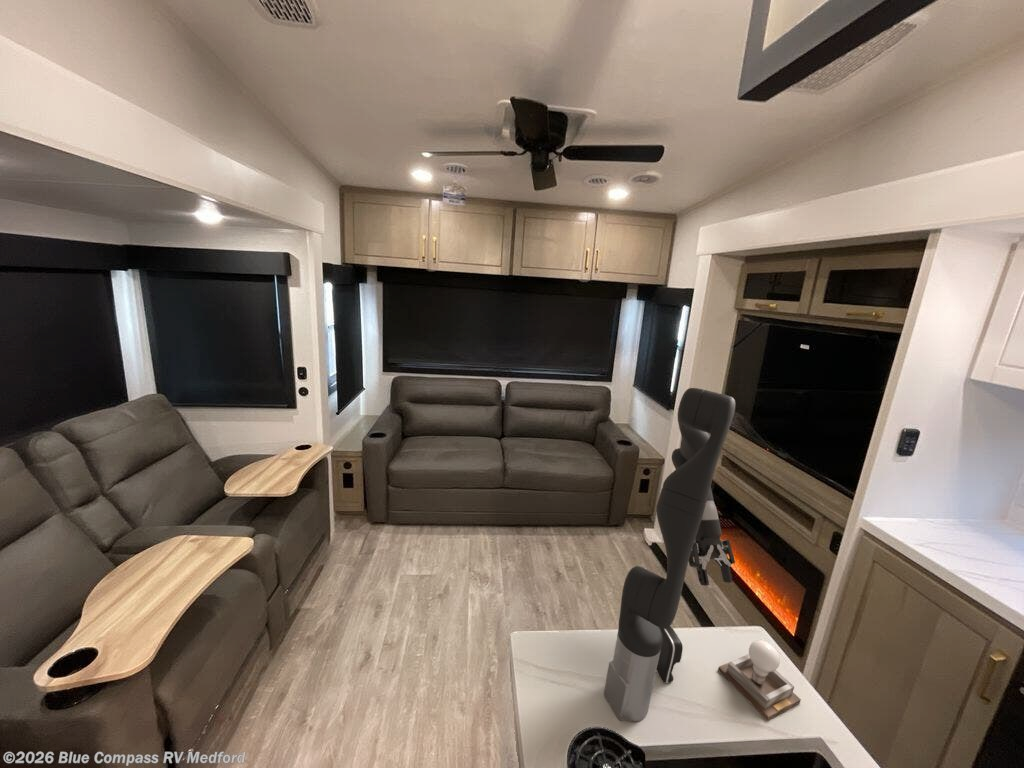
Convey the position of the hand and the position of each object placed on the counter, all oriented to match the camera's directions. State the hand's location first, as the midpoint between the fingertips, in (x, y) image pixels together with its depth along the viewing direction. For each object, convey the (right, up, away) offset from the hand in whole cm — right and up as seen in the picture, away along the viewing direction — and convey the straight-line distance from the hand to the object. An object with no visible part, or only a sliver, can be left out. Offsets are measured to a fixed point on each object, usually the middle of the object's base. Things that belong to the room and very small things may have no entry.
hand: (716, 583), depth 103 cm
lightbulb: (+7, -21, -6) cm, 23 cm away
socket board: (+7, -22, -6) cm, 24 cm away
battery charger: (-16, -20, -4) cm, 26 cm away
